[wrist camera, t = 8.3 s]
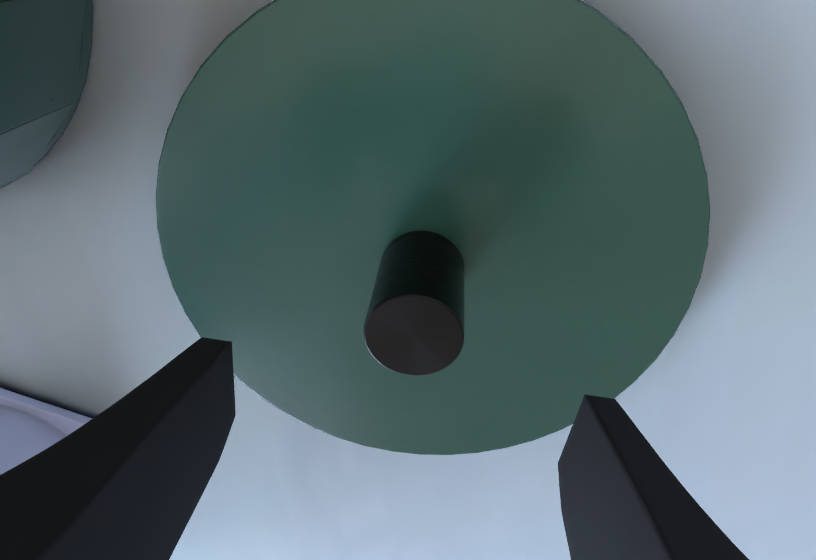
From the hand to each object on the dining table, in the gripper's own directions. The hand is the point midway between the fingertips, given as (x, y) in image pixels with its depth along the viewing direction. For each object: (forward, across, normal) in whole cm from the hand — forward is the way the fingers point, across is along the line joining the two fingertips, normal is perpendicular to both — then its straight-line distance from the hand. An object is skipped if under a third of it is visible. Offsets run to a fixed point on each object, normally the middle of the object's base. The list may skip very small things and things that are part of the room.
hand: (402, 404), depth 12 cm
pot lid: (+6, 0, 0) cm, 6 cm away
